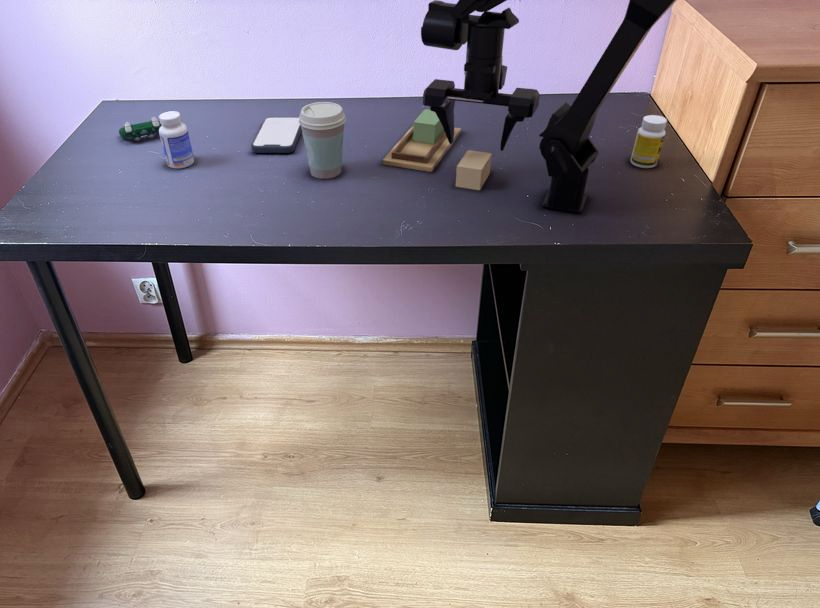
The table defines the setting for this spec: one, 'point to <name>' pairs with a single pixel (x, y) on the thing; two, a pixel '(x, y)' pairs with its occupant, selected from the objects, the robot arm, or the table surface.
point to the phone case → (277, 135)
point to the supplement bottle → (649, 142)
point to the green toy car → (140, 129)
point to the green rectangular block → (427, 128)
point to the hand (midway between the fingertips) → (476, 146)
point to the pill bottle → (175, 140)
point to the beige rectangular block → (473, 170)
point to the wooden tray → (418, 152)
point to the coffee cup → (323, 137)
